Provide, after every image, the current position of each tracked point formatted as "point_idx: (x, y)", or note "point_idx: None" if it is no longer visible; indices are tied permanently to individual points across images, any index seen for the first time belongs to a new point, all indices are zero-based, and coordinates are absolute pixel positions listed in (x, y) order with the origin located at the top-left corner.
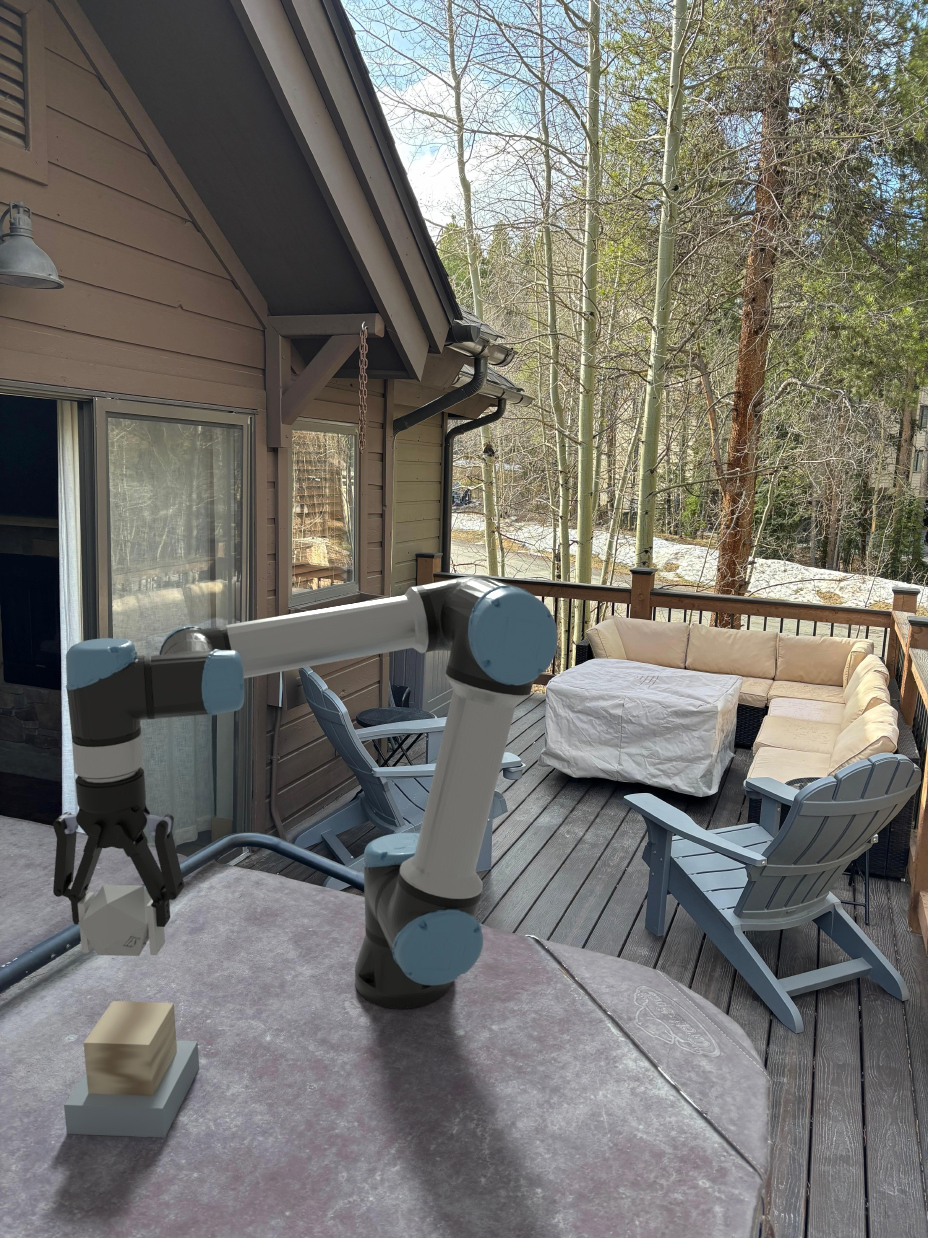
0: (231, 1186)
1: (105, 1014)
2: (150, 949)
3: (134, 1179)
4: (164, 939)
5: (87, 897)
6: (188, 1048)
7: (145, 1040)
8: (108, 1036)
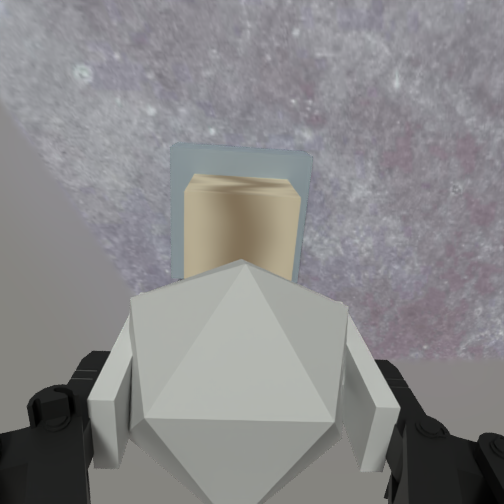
0: (371, 322)
1: (187, 229)
2: None
3: None
4: None
5: (107, 432)
6: (303, 173)
7: None
8: None
